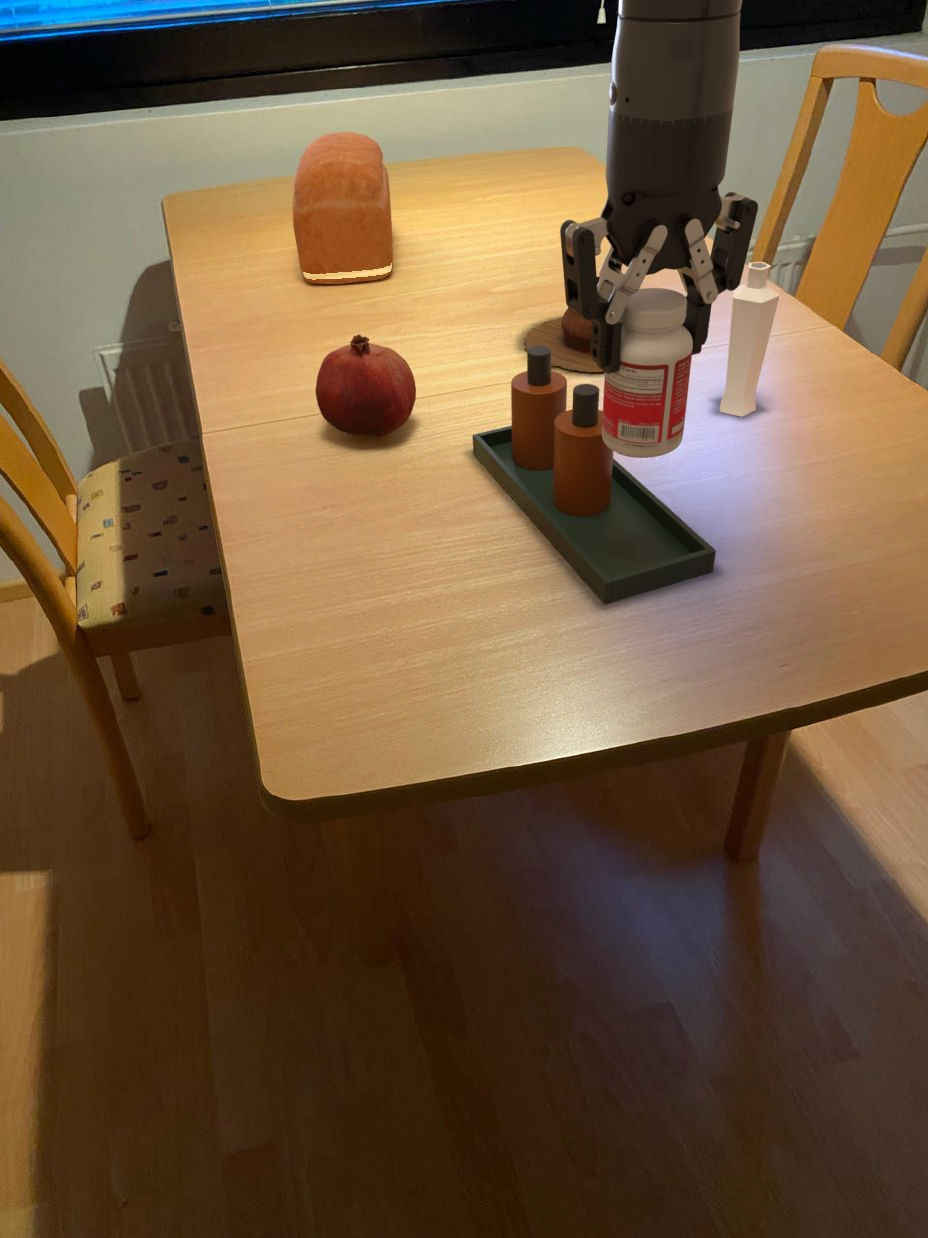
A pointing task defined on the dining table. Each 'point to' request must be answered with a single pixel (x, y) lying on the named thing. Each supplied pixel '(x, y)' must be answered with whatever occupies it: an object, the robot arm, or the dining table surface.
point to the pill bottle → (649, 377)
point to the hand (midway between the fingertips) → (648, 359)
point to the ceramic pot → (566, 341)
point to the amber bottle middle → (581, 457)
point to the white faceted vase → (748, 339)
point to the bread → (342, 208)
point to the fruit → (365, 389)
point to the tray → (603, 527)
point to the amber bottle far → (536, 410)
